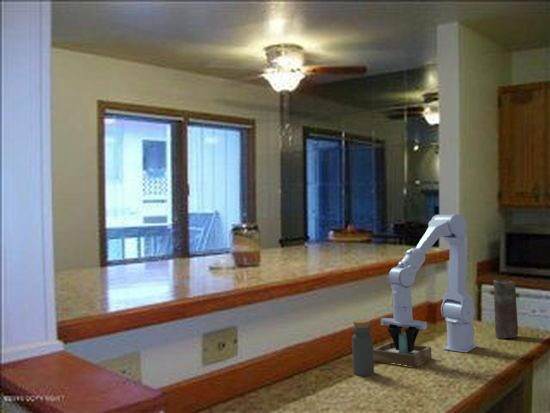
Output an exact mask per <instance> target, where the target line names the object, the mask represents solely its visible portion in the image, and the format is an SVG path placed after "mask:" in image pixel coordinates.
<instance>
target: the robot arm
mask: <svg viewBox="0 0 550 413" xmlns="http://www.w3.org/2000/svg"><path fill="white" fill-rule="evenodd" d="M427 224H428V227H427V229H426V231H425V233H423V235H422V237H421V238H420V239H419V242H418V243H417V244H416V247H415V248H413V247H412V248H410V249H407V251H406V252H405V255H403V258H401V260H400V261H398V264H397V265H396V266H394V267H391V269H390V271H389V273H388V275H387V278H386V279H387V281H388V283H389V284H390V289H391V290H392V292H391V293H392V313H393V314H392V315H393V317H391V318H389V317H387V318H386V317H382V318H380V326H388V327H387V331H388V333H389V335H390V337H391V339H392V340H393V341H392V342H394V344H395V348H396V350H399V339H398V334H401V333H402V329H403V328H405V330H404V333H406V336H407V342H408V352H412V351H413V348H414V345H415V342H416V339H417V337H418V335H419V332H420V330H423V331H424V330H426V329H427V328H428V322H427V321H421V320H418V319H417V320H416V319H413V303H412V302H413V301H412V300H413V297H412V285H413V284H414V283H415V281H416V275H417V273H418V271H419V269H420V268H421V266H422V265H423V264H424V263H425V261H426V253H427V252H428V251H430V249H431V247H433V245H434V244H435V243H436V242H437V241H438V240H439V238H444V239H445V240H446V242H447V243H448V244H449V262H448V264H449V266H448V270H449V272H448V291H447V292H446V293H445V294H444V295H443V298H442V303H441V307H440V312H441V315H442V317H443V318H444V320H445V321H446V332H447V333H446V334H447V338H446V340H447V345H446V346H444V347H442V350H444V351H452V352H453V351H454V352H461V353H468V352H470V351H472V350H473V349H475V348H477V347H478V344H475V336H474V335H475V331H474V330H475V329H474V325H473V322H472V321H473V320H474V318H475V314H476V310H475V306H474V298H473V297H472V296H470V294H469V293H468V292H467V281H468V280H467V279H468V278H467V276H468V275H467V272H468V270H467V268H468V236H467V221H466V219H465V218H464V217H463V216H462V215H461V214H458V213H455V214H434V216H432V218H431V220H429V222H428V223H427Z"/></svg>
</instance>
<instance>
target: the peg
mask: <svg viewBox="0 0 550 413" xmlns="http://www.w3.org/2000/svg"><path fill="white" fill-rule="evenodd" d="M398 339H399V353H403V354H410V355H411V352H408V342H407V336H406V332H404V333H402V332H401V334H398Z"/></svg>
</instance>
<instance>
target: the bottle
mask: <svg viewBox="0 0 550 413" xmlns="http://www.w3.org/2000/svg"><path fill="white" fill-rule="evenodd" d="M370 322H371V321H370V320H369V319H365V318H364V319H363V318H361V319H355V320H353V327H352V331H353V332H354V334H353V335H352V336H351V345H352V348H351V349H352V370H353V375H355V376H361V377H366V376H368V375H369V376H372V375H374V374H375V369H374V368H375V367H374V366H375V365H374V363H375V362H374V361H373V349H374V344H373V343H374V342H373V336H372V334H370V331H372V328H371V326H370ZM373 373H374V374H373ZM371 374H372V375H371Z"/></svg>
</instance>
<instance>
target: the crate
mask: <svg viewBox="0 0 550 413" xmlns="http://www.w3.org/2000/svg"><path fill="white" fill-rule="evenodd" d="M430 358H431V359H432V358H433V357H432V346H426V345H418V344H414V348H413V351H412V352H411V355H410V354H403V353H399V350H396V348H395V344H394V341H389V342H387V343H386V342H385V344H382V345H379V346H377V347H375V348H373V361H374V363H380V364H381V363H382V364H386V363H395V364H401V365H407V366H412V367H411V368H413V367H415V366H417V365H419V364H420V365H422V364H424V363H426V362H427V360H428V359H429V360H431V359H430ZM429 360H428V361H429ZM425 361H426V362H425ZM423 362H424V363H423ZM421 363H422V364H421ZM420 365H419V366H420ZM417 367H418V366H417ZM415 368H416V367H415Z"/></svg>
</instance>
